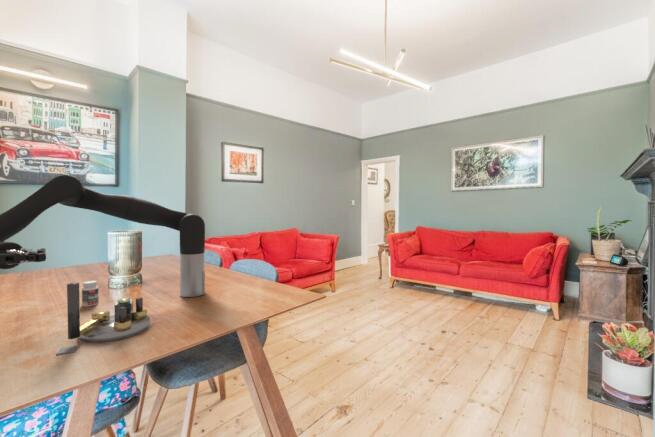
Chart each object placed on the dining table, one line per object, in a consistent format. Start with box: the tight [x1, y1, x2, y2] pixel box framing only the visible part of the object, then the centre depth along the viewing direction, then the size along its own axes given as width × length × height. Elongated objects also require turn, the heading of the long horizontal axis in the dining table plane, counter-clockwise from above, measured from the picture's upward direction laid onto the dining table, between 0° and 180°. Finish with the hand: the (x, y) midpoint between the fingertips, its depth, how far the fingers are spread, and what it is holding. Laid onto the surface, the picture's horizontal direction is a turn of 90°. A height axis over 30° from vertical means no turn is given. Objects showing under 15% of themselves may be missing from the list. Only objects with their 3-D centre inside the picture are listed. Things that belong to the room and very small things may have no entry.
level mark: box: [55, 344, 80, 356], centre depth 75 cm, size 4×4×1 cm
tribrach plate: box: [78, 297, 151, 344], centre depth 88 cm, size 17×17×9 cm
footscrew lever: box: [66, 282, 111, 340], centre depth 84 cm, size 15×4×14 cm, turn 10°
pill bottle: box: [81, 280, 100, 308], centre depth 109 cm, size 5×5×8 cm
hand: (42, 257), depth 80 cm, fingers closed
